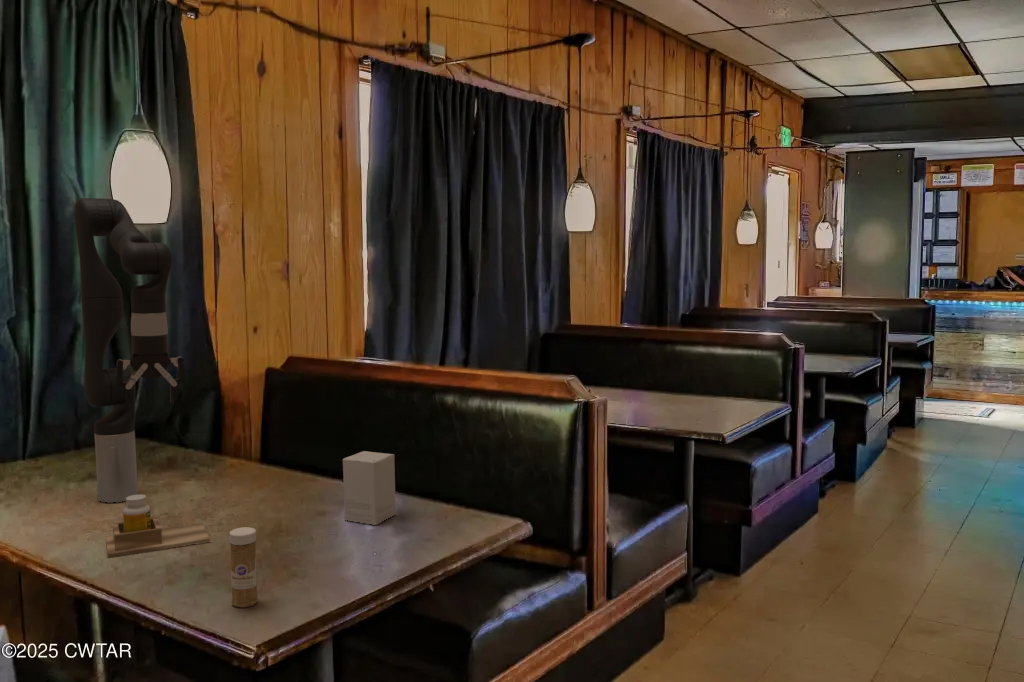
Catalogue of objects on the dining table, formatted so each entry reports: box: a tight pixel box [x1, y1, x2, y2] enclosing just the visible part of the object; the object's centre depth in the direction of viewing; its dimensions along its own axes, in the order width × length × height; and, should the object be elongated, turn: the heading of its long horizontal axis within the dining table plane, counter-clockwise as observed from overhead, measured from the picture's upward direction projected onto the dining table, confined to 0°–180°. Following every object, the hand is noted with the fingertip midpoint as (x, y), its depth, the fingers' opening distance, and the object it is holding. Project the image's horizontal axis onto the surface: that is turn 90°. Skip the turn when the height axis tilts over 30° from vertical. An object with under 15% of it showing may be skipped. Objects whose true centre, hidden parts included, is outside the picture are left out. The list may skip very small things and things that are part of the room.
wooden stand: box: [105, 516, 211, 559], centre depth 184 cm, size 12×20×4 cm, turn 117°
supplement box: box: [342, 450, 397, 526], centre depth 199 cm, size 9×9×15 cm
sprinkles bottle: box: [228, 526, 259, 608], centre depth 152 cm, size 5×5×14 cm
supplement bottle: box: [122, 494, 152, 533], centre depth 182 cm, size 5×5×10 cm
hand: (152, 403), depth 192 cm, fingers open, 8 cm apart
